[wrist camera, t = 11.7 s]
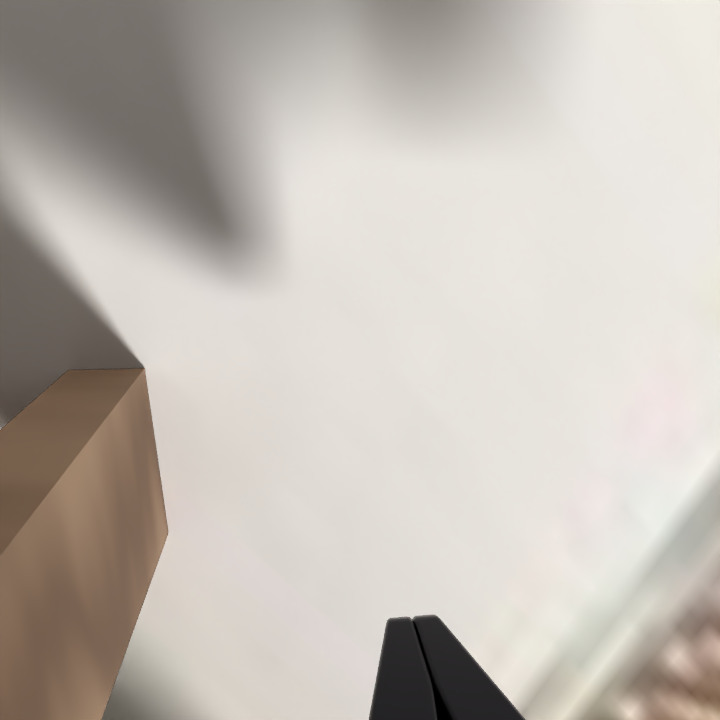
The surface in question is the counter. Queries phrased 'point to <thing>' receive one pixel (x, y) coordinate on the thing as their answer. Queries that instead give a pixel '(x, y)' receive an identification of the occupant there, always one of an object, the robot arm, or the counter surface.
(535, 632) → the counter surface
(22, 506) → the domino
